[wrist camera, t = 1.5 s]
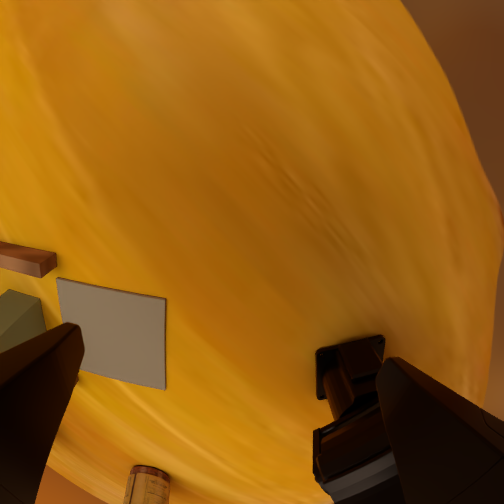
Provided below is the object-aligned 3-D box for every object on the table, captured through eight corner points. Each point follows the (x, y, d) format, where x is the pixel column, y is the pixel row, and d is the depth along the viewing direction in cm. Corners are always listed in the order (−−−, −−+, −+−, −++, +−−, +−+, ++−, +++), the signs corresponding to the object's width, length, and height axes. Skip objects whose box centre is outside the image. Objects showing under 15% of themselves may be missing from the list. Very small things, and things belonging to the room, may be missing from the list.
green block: (39, 298, 21) (-23, 360, 11) (48, 337, 22) (-2, 402, 13) (9, 289, 20) (-52, 341, 11) (18, 326, 22) (-33, 382, 12)
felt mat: (165, 298, 21) (164, 300, 21) (165, 388, 24) (165, 390, 24) (57, 277, 20) (56, 278, 20) (74, 365, 23) (73, 367, 23)
